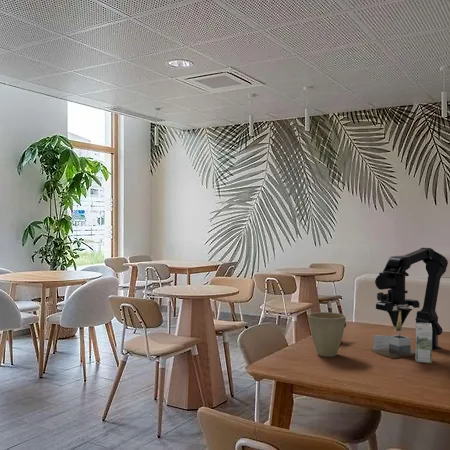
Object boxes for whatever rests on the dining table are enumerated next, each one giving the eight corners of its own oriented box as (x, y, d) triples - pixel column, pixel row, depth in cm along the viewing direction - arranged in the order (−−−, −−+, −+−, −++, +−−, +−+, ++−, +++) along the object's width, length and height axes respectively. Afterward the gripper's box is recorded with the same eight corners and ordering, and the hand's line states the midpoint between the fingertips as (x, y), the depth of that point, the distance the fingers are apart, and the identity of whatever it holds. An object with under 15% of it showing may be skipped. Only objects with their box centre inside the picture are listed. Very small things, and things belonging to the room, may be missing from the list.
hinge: (398, 347, 216) (398, 331, 216) (420, 354, 205) (420, 337, 205) (371, 351, 210) (371, 334, 210) (392, 358, 199) (392, 340, 199)
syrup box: (431, 359, 197) (431, 322, 197) (431, 364, 192) (432, 325, 192) (415, 358, 199) (415, 321, 199) (415, 362, 194) (416, 324, 194)
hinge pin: (403, 330, 205) (403, 310, 205) (397, 331, 204) (397, 311, 204) (397, 328, 208) (397, 309, 208) (392, 329, 207) (392, 310, 206)
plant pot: (352, 354, 205) (352, 315, 205) (333, 361, 194) (333, 320, 194) (320, 347, 215) (321, 310, 215) (300, 354, 205) (301, 315, 204)
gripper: (400, 283, 217) (399, 320, 217) (366, 286, 209) (366, 324, 209) (420, 287, 207) (420, 325, 207) (386, 290, 199) (385, 329, 199)
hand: (397, 326), depth 206 cm, fingers closed on hinge pin, 3 cm apart
